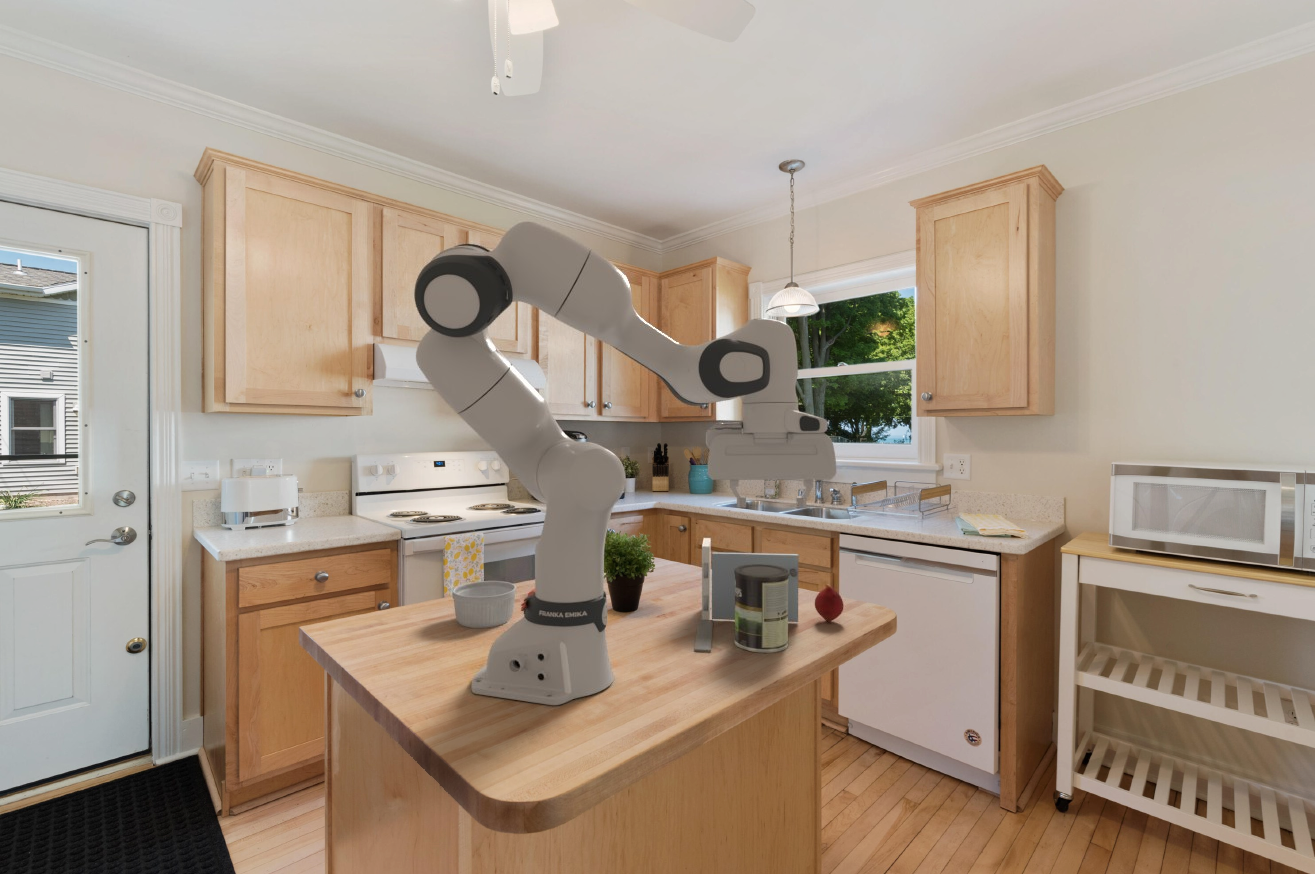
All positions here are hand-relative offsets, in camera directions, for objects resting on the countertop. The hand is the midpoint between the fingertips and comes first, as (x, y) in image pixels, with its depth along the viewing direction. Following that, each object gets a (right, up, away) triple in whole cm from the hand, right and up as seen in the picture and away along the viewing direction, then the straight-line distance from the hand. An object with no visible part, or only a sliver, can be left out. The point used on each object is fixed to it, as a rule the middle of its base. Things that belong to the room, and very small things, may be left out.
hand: (771, 507), depth 100 cm
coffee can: (+2, -28, +19) cm, 34 cm away
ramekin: (-55, -28, +33) cm, 70 cm away
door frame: (-9, -28, +28) cm, 40 cm away
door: (+2, -27, +31) cm, 41 cm away
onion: (+18, -28, +32) cm, 46 cm away
